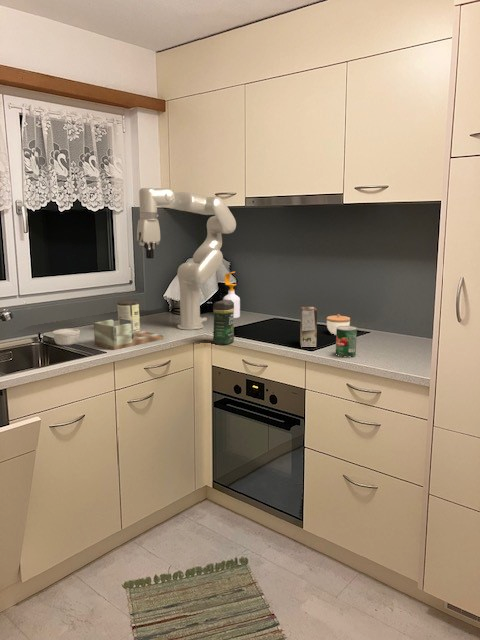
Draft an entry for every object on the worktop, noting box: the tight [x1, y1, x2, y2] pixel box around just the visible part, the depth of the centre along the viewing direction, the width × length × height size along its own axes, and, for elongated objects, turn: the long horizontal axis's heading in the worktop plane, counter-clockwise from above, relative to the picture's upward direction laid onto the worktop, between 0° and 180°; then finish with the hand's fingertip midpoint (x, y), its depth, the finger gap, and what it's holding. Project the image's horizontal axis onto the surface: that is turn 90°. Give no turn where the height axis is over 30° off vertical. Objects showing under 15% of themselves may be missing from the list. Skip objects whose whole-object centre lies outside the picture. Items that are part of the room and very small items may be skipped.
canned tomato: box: [335, 325, 358, 357], centre depth 210 cm, size 8×8×11 cm
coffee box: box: [299, 305, 318, 348], centre depth 225 cm, size 9×6×16 cm
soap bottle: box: [222, 271, 241, 319], centre depth 286 cm, size 9×9×25 cm
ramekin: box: [52, 328, 81, 346], centre depth 231 cm, size 11×11×5 cm
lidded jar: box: [326, 313, 351, 336], centre depth 246 cm, size 11×11×9 cm
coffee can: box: [116, 299, 141, 333], centre depth 255 cm, size 10×10×14 cm
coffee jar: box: [212, 299, 235, 345], centre depth 230 cm, size 10×8×19 cm
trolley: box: [119, 318, 134, 339], centre depth 228 cm, size 10×10×8 cm
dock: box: [93, 319, 164, 351], centre depth 232 cm, size 26×14×10 cm, turn 138°
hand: (150, 258), depth 241 cm, fingers closed
